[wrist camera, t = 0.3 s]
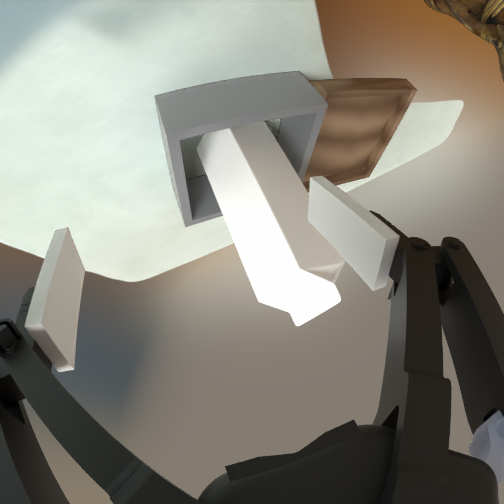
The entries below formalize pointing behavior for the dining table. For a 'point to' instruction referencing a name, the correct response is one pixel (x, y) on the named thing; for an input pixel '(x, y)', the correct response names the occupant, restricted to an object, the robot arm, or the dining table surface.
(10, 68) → the dining table surface
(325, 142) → the tray
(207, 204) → the box
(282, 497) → the robot arm
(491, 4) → the wooden mug
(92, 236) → the dining table surface
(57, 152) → the dining table surface
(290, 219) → the milk
